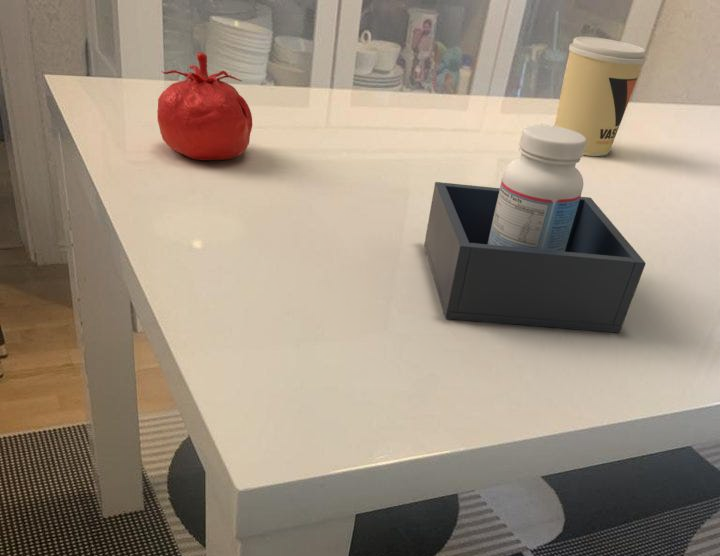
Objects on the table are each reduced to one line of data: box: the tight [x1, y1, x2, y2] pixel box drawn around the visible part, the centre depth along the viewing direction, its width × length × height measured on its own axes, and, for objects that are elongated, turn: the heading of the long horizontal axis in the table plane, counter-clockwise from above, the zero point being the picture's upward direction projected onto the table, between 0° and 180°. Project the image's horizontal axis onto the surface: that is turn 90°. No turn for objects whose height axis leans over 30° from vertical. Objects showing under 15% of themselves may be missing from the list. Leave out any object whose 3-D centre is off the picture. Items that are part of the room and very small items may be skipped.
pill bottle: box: [488, 124, 586, 252], centre depth 57 cm, size 6×6×11 cm
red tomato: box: [156, 51, 253, 161], centre depth 75 cm, size 10×10×9 cm
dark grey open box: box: [423, 181, 646, 333], centre depth 59 cm, size 14×14×6 cm
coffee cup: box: [554, 36, 647, 157], centre depth 94 cm, size 9×9×12 cm
